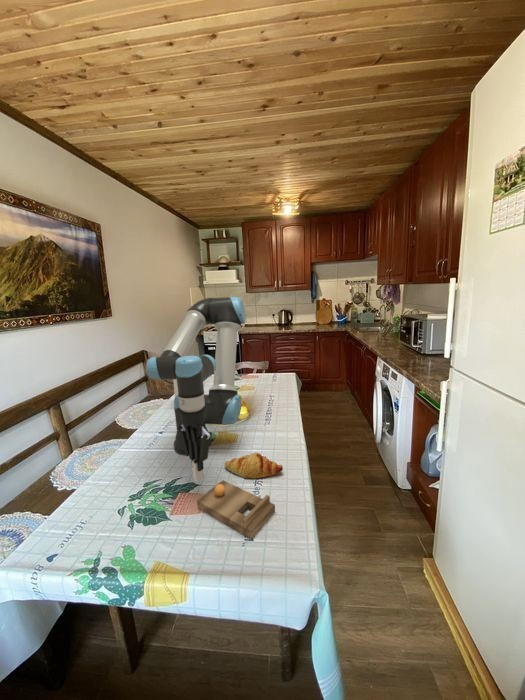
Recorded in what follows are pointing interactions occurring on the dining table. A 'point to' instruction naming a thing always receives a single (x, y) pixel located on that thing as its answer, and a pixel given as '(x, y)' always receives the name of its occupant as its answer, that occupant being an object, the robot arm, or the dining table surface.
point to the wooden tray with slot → (238, 509)
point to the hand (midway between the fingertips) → (198, 478)
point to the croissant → (253, 466)
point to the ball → (219, 490)
